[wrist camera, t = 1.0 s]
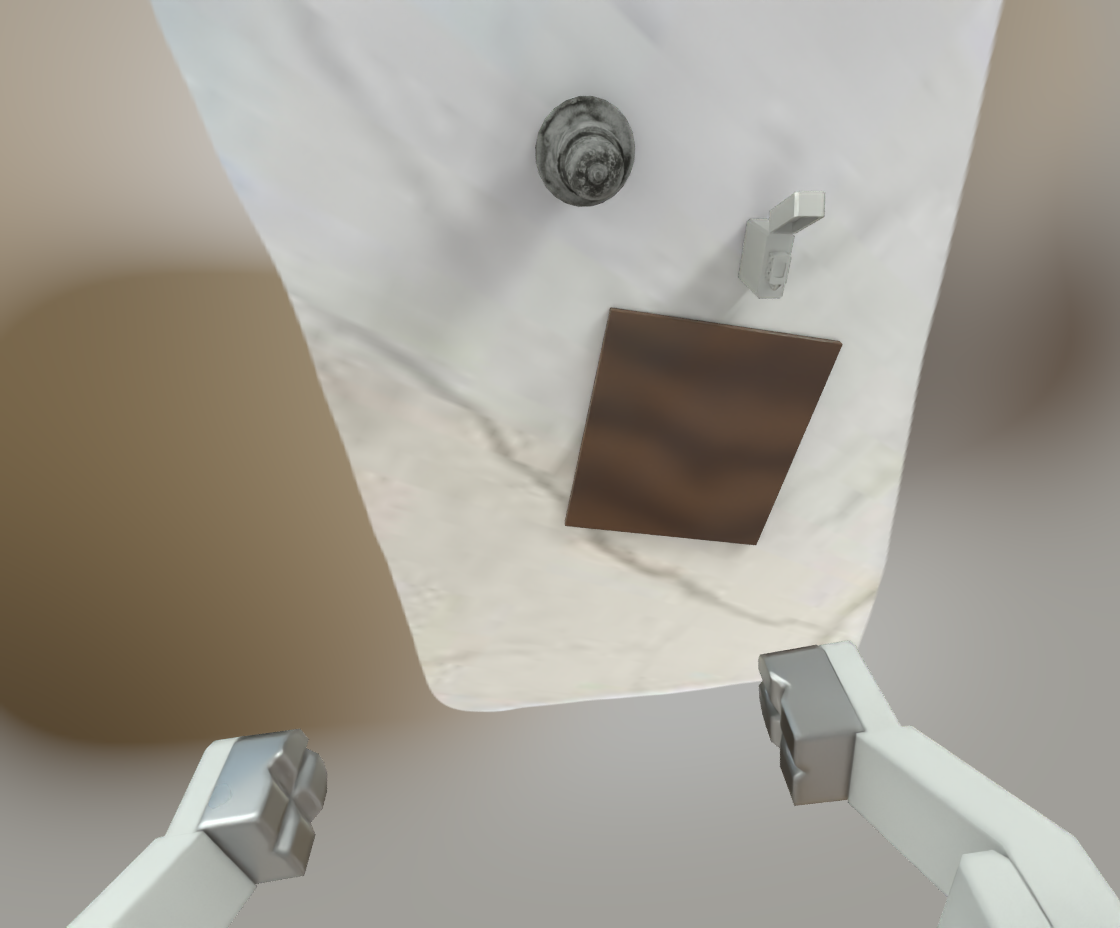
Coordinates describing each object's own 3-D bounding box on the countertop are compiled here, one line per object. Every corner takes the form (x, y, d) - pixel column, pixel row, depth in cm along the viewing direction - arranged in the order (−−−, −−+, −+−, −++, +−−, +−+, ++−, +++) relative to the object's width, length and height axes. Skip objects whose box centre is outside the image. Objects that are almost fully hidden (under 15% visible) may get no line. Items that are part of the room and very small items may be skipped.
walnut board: (610, 307, 46) (611, 310, 45) (839, 340, 48) (843, 344, 47) (564, 521, 56) (564, 526, 56) (754, 541, 58) (756, 545, 58)
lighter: (761, 279, 45) (802, 317, 38) (737, 279, 45) (774, 318, 38) (781, 171, 41) (830, 193, 34) (755, 171, 41) (799, 193, 34)
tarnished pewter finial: (527, 101, 38) (527, 116, 28) (623, 85, 38) (657, 95, 28) (542, 202, 42) (547, 248, 31) (630, 188, 41) (663, 230, 31)
